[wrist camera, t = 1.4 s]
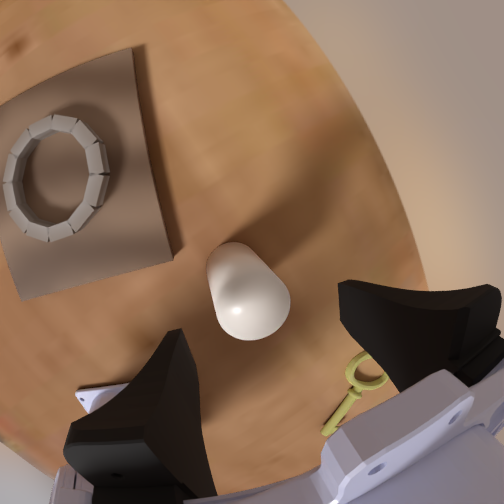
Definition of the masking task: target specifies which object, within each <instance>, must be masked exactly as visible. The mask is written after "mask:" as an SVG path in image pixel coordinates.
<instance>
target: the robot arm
mask: <svg viewBox="0 0 504 504" xmlns="http://www.w3.org/2000/svg"><path fill="white" fill-rule="evenodd" d="M338 293H339V308H340V321H341V322H342V324H343V325H344V327H345V328H346V330H347V331H348V332H349V334H350V335H351V336H352V337H353V338H354V339H355V340H356V341H357V342H358V344H359V345H360V346H361V347H362V348H363V349H364V350H365V351H366V352H367V353H368V354H369V355H370V356H371V357H372V358H373V359H374V360H375V361H376V362H377V363H378V364H379V365H380V366H381V367H382V369H383V370H384V371H385V372H386V374H387V375H388V377H389V378H390V379H391V381H392V382H393V383H394V385H395V386H396V388H397V389H398V391H399V392H400V393H399V394H397V395H396V396H394V397H392V398H390V399H388V400H387V401H385V402H383V403H381V404H379V405H377V406H375V407H373V408H371V409H369V410H367V411H365V412H363V413H361V414H359V415H357V416H356V417H354V418H353V419H351V420H349V421H348V422H346V423H344V424H343V425H341V426H340V427H339V428H338V429H337V430H336V431H335V432H334V433H333V434H332V435H331V436H330V437H329V438H328V439H327V441H326V443H325V445H324V447H323V450H322V452H321V464H320V465H318V466H317V467H315V468H313V469H311V470H309V471H307V472H305V473H303V474H301V475H298V476H295V477H292V478H289V479H286V480H283V481H280V482H276V483H273V484H269V485H265V486H262V487H258V488H254V489H249V490H245V491H240V492H236V493H231V494H225V495H220V496H218V495H217V492H216V489H215V486H214V482H213V478H212V475H211V471H210V467H209V463H208V459H207V454H206V450H205V445H204V440H203V435H202V429H201V417H200V395H199V381H198V375H197V369H196V364H195V362H194V359H193V357H192V354H191V352H190V349H189V346H188V344H187V341H186V339H185V336H184V333H183V331H182V328H180V329H176V330H172V331H168V332H167V334H166V335H165V337H164V338H163V340H162V342H161V343H160V345H159V346H158V348H157V349H156V351H155V352H154V354H153V355H152V357H151V358H150V359H149V361H148V362H147V363H146V365H145V366H144V367H143V369H142V370H141V371H140V372H139V374H138V375H137V376H136V377H135V378H134V379H133V380H132V381H131V382H130V383H125V384H119V385H112V386H105V387H98V388H90V389H81V390H77V391H76V392H75V395H76V397H77V398H78V400H79V401H80V403H81V404H82V405H83V407H84V408H85V410H86V411H87V412H88V415H86V416H84V417H82V418H80V419H78V420H77V421H74V422H72V423H71V426H70V429H69V432H68V435H67V438H66V442H65V445H64V449H63V455H64V457H65V459H66V461H67V462H68V463H69V464H70V465H69V464H66V466H62V467H59V469H58V472H57V474H56V478H55V481H54V484H53V488H52V492H51V497H50V502H49V504H504V446H503V445H502V444H501V443H500V442H499V441H498V440H497V439H496V438H495V436H496V435H497V434H498V433H499V432H500V430H501V429H502V428H503V427H504V339H503V338H501V337H500V336H499V335H500V334H501V331H500V330H499V329H497V328H496V325H497V320H498V317H499V313H500V308H501V299H502V297H501V293H500V290H499V289H498V288H496V287H494V286H491V285H488V284H485V285H481V286H476V287H472V288H467V289H460V290H451V291H415V290H405V289H399V288H393V287H387V286H382V285H377V284H373V283H368V282H363V281H358V280H346V281H343V282H340V283H338Z"/></svg>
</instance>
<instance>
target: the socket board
mask: <svg viewBox="0 0 504 504" xmlns="http://www.w3.org/2000/svg"><path fill="white" fill-rule="evenodd" d="M0 240H1V243H2V247H3V250H4V254H5V257H6V260H7V263H8V266H9V269H10V272H11V275H12V278H13V281H14V283H15V286H16V289H17V291H18V294H19V296H20V299H21V301H25V300H29V299H32V298H36V297H39V296H43V295H47V294H50V293H54V292H57V291H61V290H65V289H68V288H72V287H76V286H79V285H83V284H87V283H90V282H94V281H98V280H101V279H105V278H109V277H112V276H116V275H120V274H124V273H127V272H131V271H135V270H139V269H142V268H146V267H150V266H154V265H158V264H161V263H165V262H169V261H173V259H174V255H173V252H172V248H171V244H170V241H169V237H168V233H167V229H166V226H165V222H164V218H163V214H162V210H161V206H160V201H159V197H158V193H157V189H156V184H155V180H154V175H153V170H152V166H151V161H150V156H149V151H148V146H147V141H146V135H145V130H144V124H143V118H142V112H141V106H140V100H139V93H138V86H137V79H136V71H135V63H134V54H133V51H132V48H128V49H125V50H122V51H118V52H115V53H112V54H109V55H106V56H103V57H100V58H98V59H95V60H92V61H89V62H87V63H84V64H82V65H79V66H77V67H74V68H72V69H70V70H67V71H65V72H63V73H61V74H59V75H56V76H54V77H52V78H50V79H48V80H46V81H44V82H42V83H40V84H38V85H36V86H34V87H32V88H31V89H29V90H27V91H25V92H23V93H22V94H20V95H18V96H17V97H15V98H13V99H12V100H10V101H8V102H7V103H5V104H3V105H2V106H0Z"/></svg>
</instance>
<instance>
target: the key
mask: <svg viewBox="0 0 504 504" xmlns="http://www.w3.org/2000/svg"><path fill="white" fill-rule="evenodd" d="M370 358H372V357H371V356H370V355H369V354H368V353H367V352H366V351H365V352H362V353H360V354H358V355H357V356H355V357H354V358H353V359H352V360H351V361H350V363H349V364H348V366H347V368H346V371H345V376H346V378H347V380H348V382H349V383H350V384H352V385H353V386H354V387H353V388H351V389H348V393H349V394H348V395H347V397H346V398H345V399H344V401H343V402H342V403H341V405H340V406H339V408H338V409H337V410H336V411H335V413H334V414H333V415H332V417H331V418H330V419H329V421H328V422H327V423H326V424H325V426H324V427H323V428H322V429H321V431H320V432H321V434H323V435H324V436H328V435H329V434H333V433H334V432H335V431H336V430H337V429H338V428H339V427H340V426H336V425H337V424H338V423H339V421H340V420H341V419H342V418H343V416H344V415H345V414H346V412H347V411H348V410H349V408H350V407H351V406H352V404H353V403H354V402H355V400H356V399H360V398H361V397H362V395H361V392H362V390H373V389H376V388H379V387H381V386H382V385H383V384H385V383H386V382H387V380H388V379H389V377H388V375H387V374H386V372H385V371H384V373H383V375H382V376H381V377H380V378H378V379H377V380H375V381H371V382H363V381H359V380H357V379H355V378H354V372H355V370H356V368H357V366H358V365H359V364H360V363H361V362H362V361H364V360H366V359H370Z"/></svg>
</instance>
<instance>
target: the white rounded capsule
mask: <svg viewBox="0 0 504 504" xmlns="http://www.w3.org/2000/svg"><path fill="white" fill-rule="evenodd" d="M206 273H207V278H208V282H209V286H210V290H211V295H212V299H213V303H214V307H215V311H216V315H217V319H218V321H219V323H220V325H221V327H222V328H223V329H224V330H225V331H226V332H227V333H228V334H229V335H231V336H233V337H235V338H238V339H241V340H258V339H262V338H264V337H267V336H269V335H271V334H272V333H274V332H275V331H276V330H278V329H279V328H280V327H281V325H282V324H283V323H284V321H285V320H286V318H287V316H288V313H289V310H290V302H291V301H290V295H289V292H288V289H287V287H286V286H285V284H284V283H283V282H282V281H281V280H280V279H279V278H278V277H277V275H276V274H275V273H274V272H273V271H272V270H271V269H270V268H269V267H268V266H267V265H266V264H265V263H264V262H263V261H262V260H261V259H260V258H259V257H258V255H257V254H256V253H255V252H254V251H253V250H252V249H251V248H250V247H248V246H247V245H245V244H242V243H238V242H229V243H225V244H222V245H220V246H219V247H217V248H216V249H215V250H214V251H213V252H212V253H211V254H210V256H209V258H208V261H207V264H206Z"/></svg>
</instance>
